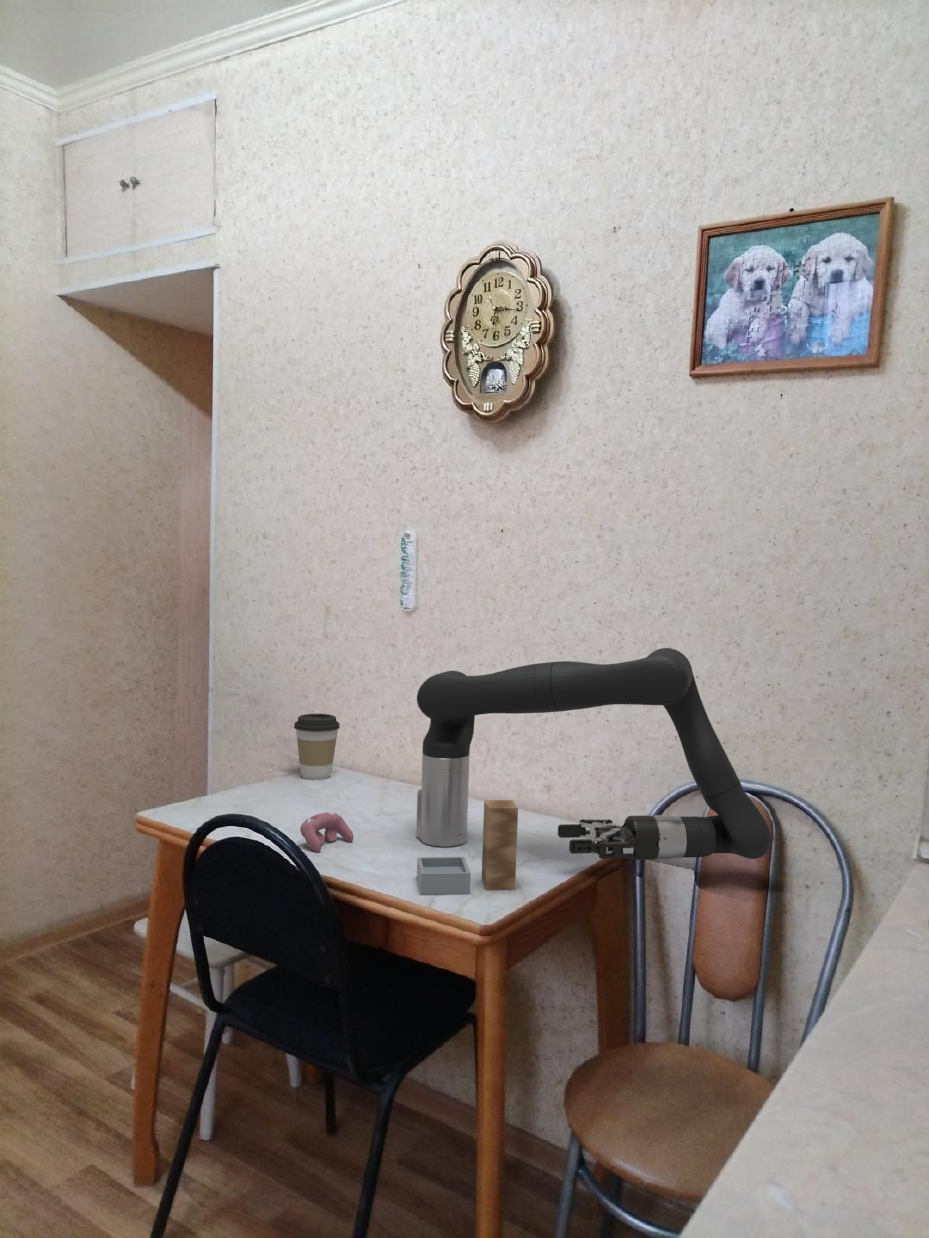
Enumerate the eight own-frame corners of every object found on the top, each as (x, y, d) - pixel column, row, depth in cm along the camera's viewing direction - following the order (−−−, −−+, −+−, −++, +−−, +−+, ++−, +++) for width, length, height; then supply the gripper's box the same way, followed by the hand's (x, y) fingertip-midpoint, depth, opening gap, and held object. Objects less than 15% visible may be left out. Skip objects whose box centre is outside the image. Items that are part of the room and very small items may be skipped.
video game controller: (342, 845, 177) (332, 811, 179) (357, 839, 175) (346, 804, 176) (303, 857, 170) (293, 821, 171) (318, 851, 167) (308, 815, 169)
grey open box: (420, 894, 149) (421, 873, 148) (416, 876, 157) (417, 857, 157) (469, 893, 150) (470, 873, 150) (463, 876, 158) (464, 856, 158)
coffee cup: (345, 772, 229) (346, 714, 228) (330, 783, 218) (331, 722, 217) (302, 769, 231) (303, 711, 230) (285, 780, 220) (286, 719, 219)
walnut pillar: (485, 890, 152) (488, 808, 151) (481, 879, 157) (484, 800, 156) (515, 889, 152) (518, 808, 151) (509, 879, 157) (512, 800, 156)
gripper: (642, 804, 164) (555, 805, 162) (669, 828, 150) (574, 829, 148) (640, 845, 165) (553, 846, 163) (668, 872, 151) (573, 874, 149)
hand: (563, 838), depth 155 cm, fingers open, 8 cm apart
